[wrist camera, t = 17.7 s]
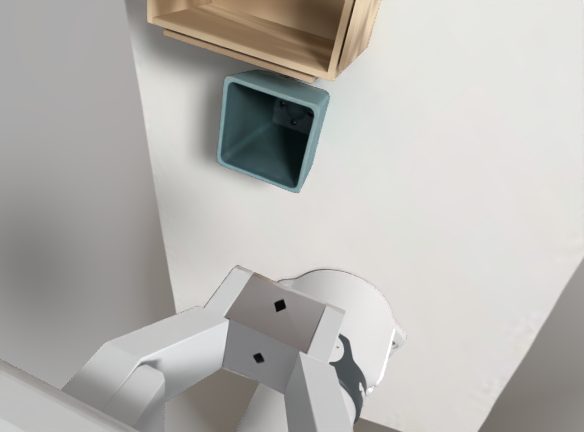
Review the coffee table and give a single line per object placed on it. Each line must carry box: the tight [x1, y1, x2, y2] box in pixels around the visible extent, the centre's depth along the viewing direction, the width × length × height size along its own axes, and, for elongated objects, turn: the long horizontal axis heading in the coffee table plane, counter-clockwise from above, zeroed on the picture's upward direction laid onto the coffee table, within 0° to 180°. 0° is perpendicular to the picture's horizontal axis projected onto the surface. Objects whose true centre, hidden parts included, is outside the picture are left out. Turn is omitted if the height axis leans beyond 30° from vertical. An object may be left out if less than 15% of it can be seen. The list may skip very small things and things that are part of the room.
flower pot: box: [217, 70, 330, 193], centre depth 40 cm, size 9×9×9 cm
